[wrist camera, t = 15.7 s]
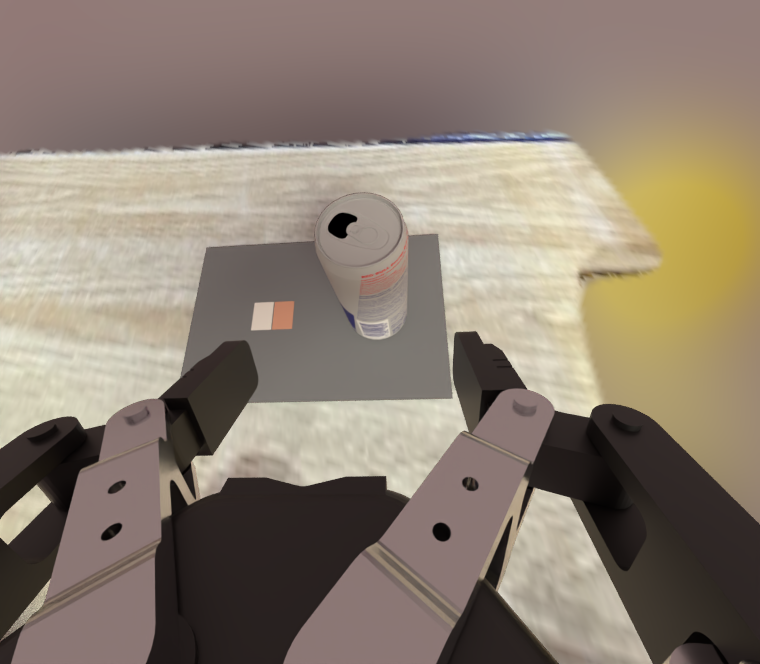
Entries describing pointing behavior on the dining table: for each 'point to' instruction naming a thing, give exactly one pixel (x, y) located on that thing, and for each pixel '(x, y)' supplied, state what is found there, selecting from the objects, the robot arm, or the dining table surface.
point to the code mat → (319, 326)
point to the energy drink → (366, 261)
